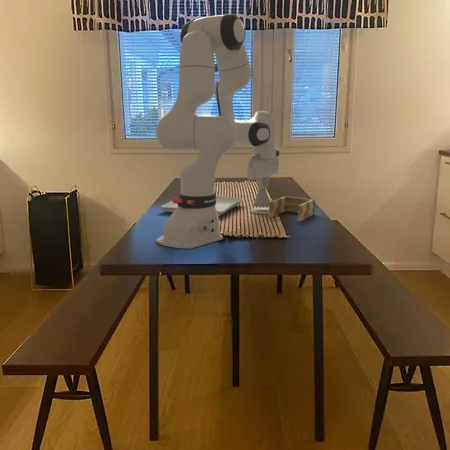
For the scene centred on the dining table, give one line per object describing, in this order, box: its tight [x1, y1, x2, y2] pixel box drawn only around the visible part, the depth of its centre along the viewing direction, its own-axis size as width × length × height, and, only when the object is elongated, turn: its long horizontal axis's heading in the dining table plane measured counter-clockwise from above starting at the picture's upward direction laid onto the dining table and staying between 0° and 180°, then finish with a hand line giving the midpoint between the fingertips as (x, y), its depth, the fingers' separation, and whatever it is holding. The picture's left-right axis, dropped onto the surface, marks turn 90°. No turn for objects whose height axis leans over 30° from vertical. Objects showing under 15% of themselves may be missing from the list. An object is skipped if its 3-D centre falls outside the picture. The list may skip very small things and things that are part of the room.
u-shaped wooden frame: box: [268, 195, 316, 222], centre depth 181 cm, size 14×13×6 cm
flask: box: [252, 180, 271, 208], centre depth 187 cm, size 7×7×10 cm
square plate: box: [159, 195, 245, 216], centre depth 193 cm, size 27×27×4 cm
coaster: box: [249, 207, 269, 215], centre depth 189 cm, size 10×10×1 cm
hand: (262, 187), depth 187 cm, fingers closed on flask, 3 cm apart
